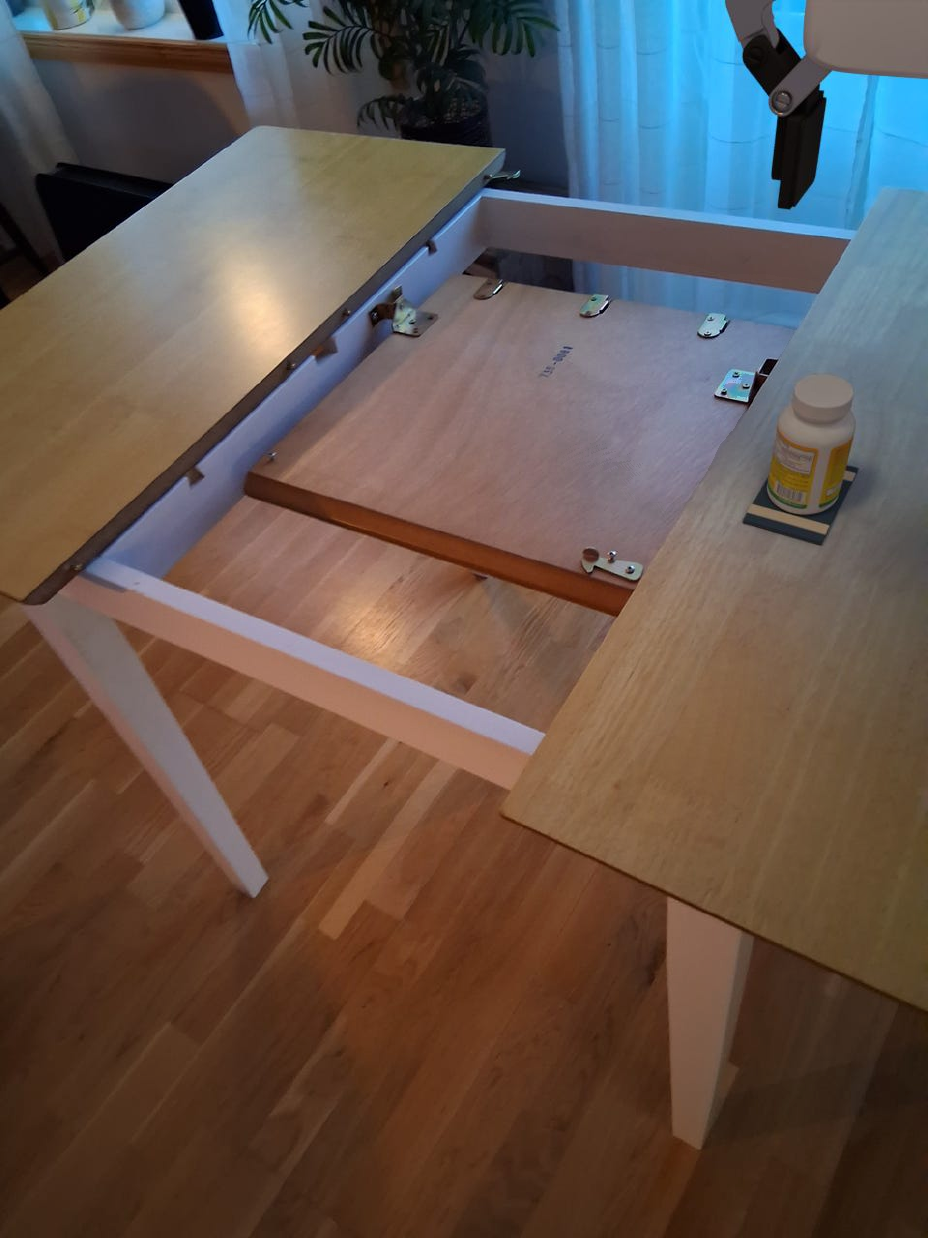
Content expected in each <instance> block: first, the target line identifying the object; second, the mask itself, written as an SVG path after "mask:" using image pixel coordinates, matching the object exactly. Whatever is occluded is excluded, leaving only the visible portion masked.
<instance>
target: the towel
mask: <svg viewBox="0 0 928 1238" xmlns="http://www.w3.org/2000/svg"><path fill="white" fill-rule="evenodd" d="M858 472H859V467H857V466H851V465H846V469H845V473H844V477H843V481H842V485H841V489H840V493H839V496H838V499H837V500H836V502H835V503H834V504H833V505H832V506H831V507H829V508H828V509H826V510H824V511H822V512H819V513H816V514H808V515H803V514H795V513H791V512H788V511H785V510H783V509H781V508H780V507H778V506H777V505H776V504H774V503H773V502H772V500H771V499H770V497H769V495H768V492H767V484H768V477H769V475H768V476H767V478H766V479H765V481H764V483H763V484H762V486H761V488H760V490H759V491H758V493H757V495H756V497H755V498H754V500H753V501H752V503H751V504H750V506H749V508H748V510H746V511H747V512H746V514H745V516H744V517H743V519H742V523H743V524H744V525H749V526H752V527H756V528H759V529H762V530H765V531H770V532H772V533H777V534H780V535H784V536H786V537H790V538H793V539H796V540H801V541H804V542H808V543H811V544H815V545H817V546H822V545H823V542H824V540H825V539H826V536H827V535H828V533H829V530H830V528H831V527H832V524H833V522H834V520H835V519H836V517H837V514H838V512H839V510H840V508H841V506H842V504H843V502H844V500H845V498H846V497H847V494H848V492H849V490H850V489H851V486H852V485H853V482H854V481H855V478H856V477H857V474H858Z"/></svg>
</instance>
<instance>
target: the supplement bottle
mask: <svg viewBox="0 0 928 1238" xmlns="http://www.w3.org/2000/svg"><path fill="white" fill-rule="evenodd" d="M854 394H855V393H854V387H853V386H852V385H851V383H849V381H847V380H846V379H844V378H843V377H841V376H837V375H835V374H830V373H829V374H828V373H816V374H815V373H814V374H811V375H806V376H804V377H802V378H801V379H799V380H798V381H797V382H796V383H795V385H794V388H793V392H792V397H791V403H789V404H788V405H787V406H786V407H784V408H783V409H782V411H781V413H780V414H779V416H778V421H777V426H776V431H775V432H776V433H775V437H774V443H773V449H772V456H771V461H770V467H769V473H768V476H769V477H768V476H767V478H768V484H767V492H768V495H769V497H770V499H771V500H772V502H773V503H774V504H776V505H777V506H778V507H780V508H781V509H783V510H785V511H788V512H791V513H795V514H803V515H808V514H816V513H819V512H822V511H824V510H826V509H828V508H829V507H831V506H832V505H833V504H834V503H835V502H836V500H837V499H838V496H839V493H840V489H841V485H842V481H843V477H844V473H845V469H846V465H847V464H848V460H849V457H850V453H851V449H852V444H853V441H854V437H855V433H856V428H857V422H856V418H855V415H854V413H853V412H852V411H851V409H852V407H853V400H854V397H855V396H854Z"/></svg>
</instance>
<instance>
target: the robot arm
mask: <svg viewBox="0 0 928 1238" xmlns="http://www.w3.org/2000/svg"><path fill="white" fill-rule="evenodd" d="M775 1H777V0H724V5H725V9H726V11H727V14H728V17H729V20H730V22H731V25H732V28H733V31H734V34H735V36H736V39H737V42H738V43H740V46H741V48H742V54H741V59H742V62H743V65H744V66H745V67H746V69H747V70H748V72H749V73H750V74H751V75H752V77H753V78H754V79H755V81H756V83H758V85H759V86H760V87H761V89H762V90H763V91H764V93H765V94H766V95H767V96H768V100H767V105H768V108H769V110H770V111H771V113H772V114H774V115H775V116H777V118H776V125H775V126H776V127H775V135H774V146H773V153H772V161H771V170H770V171H771V172H770V175H771V176H770V177H771V180H772V181H779V188H778V189H779V190H778V197H777V198H778V199H777V209H780V210H781V209H782V210H787V211H788V210H792V208H796V207H797V206H798V204H799V202H800V201H801V200H802V199H803V197H804V196H805V195H806V193H807V192H808V191H809V189H810V188H811V186H812V185H813V184H814V182H815V179H816V175H817V169H818V163H819V155H820V148H821V142H822V136H823V129H824V122H825V114H826V107H827V103H828V102H827V100H828V98H827V97H826V96H825V90H823V89H820V88H821V83H822V82H823V81H824V80H825V79H826V78H827V77H828V76H829V75H830V74H831V73H832V72H837V73H843V74H851V75H852V74H853V75H861V76H862V75H864V76H876V77H888V78H889V77H890V78H901V79H902V78H905V79H919V80H928V0H805V8H804V15H803V29H802V45H803V50H804V53H805V54H804V56H802V57H801V56H800V55H799V53H798V52H797V51H796V49H795V48H794V47H793V46H792V44H791V43H790V41H789V40H788V38H787V37H786V36H785V35H784V33H783V31H782V30H781V29H780V28H778V27H777V26H776V22H775V19H776V18H775V16H774V12H773V3H774V2H775Z"/></svg>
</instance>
